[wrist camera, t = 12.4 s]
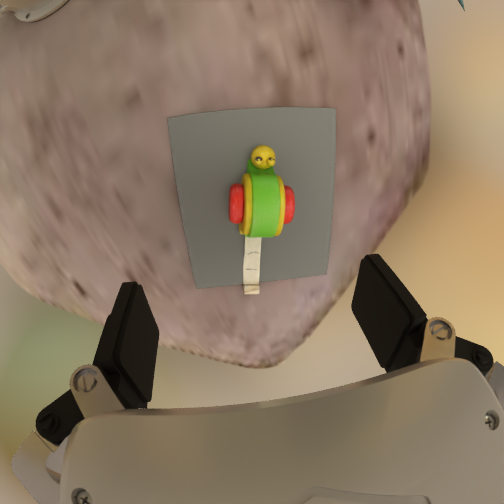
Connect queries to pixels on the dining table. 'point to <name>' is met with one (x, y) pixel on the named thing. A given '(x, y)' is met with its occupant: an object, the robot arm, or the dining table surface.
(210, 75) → the dining table surface
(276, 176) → the toy measuring tape
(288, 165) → the mat
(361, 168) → the dining table surface
